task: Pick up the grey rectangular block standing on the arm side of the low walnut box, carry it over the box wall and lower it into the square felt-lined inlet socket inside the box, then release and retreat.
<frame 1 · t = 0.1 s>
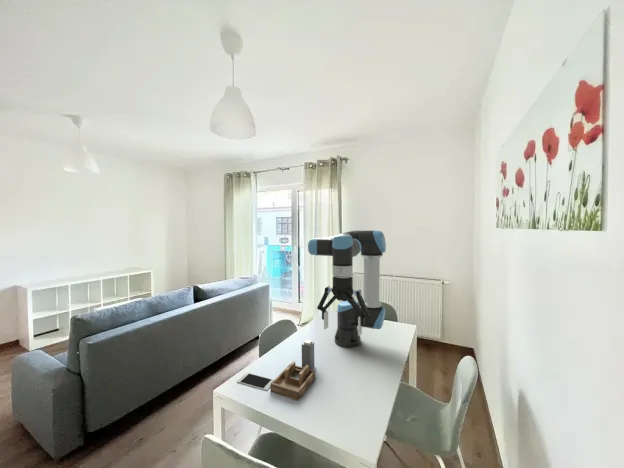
hand: (342, 331, 98), 28 cm above the table, fingers open, 13 cm apart
grey rectangular block: (308, 367, 123), on the table
smartphone: (256, 383, 112), on the table
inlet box: (293, 384, 110), on the table
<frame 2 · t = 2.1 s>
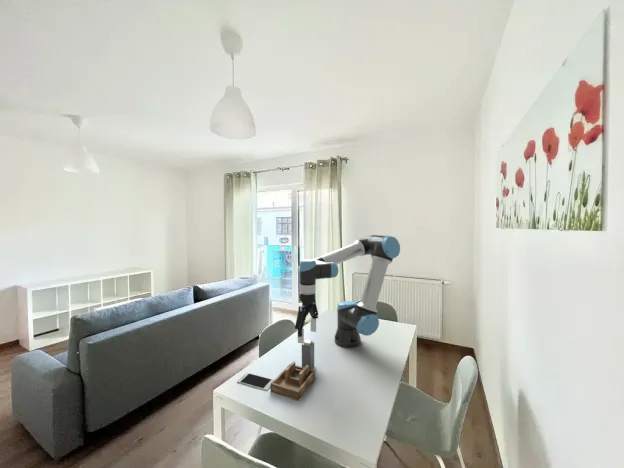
hand: (307, 336, 122), 15 cm above the table, fingers open, 13 cm apart
nothing on the table moved.
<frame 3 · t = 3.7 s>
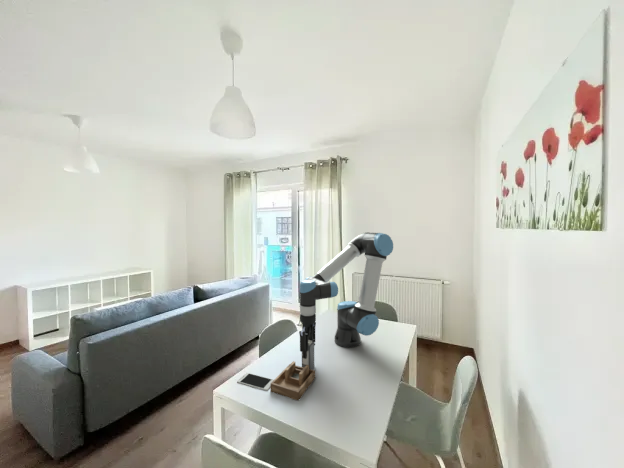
hand: (308, 361, 123), 3 cm above the table, fingers closed on grey rectangular block, 4 cm apart
grey rectangular block: (308, 367, 123), on the table, touching gripper
everything else where it was.
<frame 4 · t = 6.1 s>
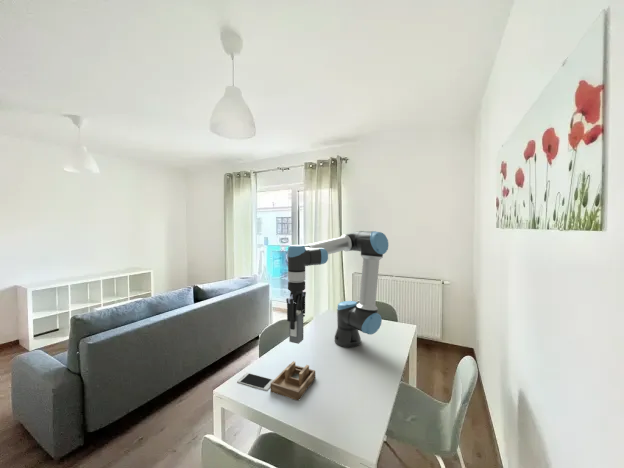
hand: (296, 333, 112), 21 cm above the table, fingers closed on grey rectangular block, 4 cm apart
grey rectangular block: (296, 340, 112), point 18 cm above the table, touching gripper
everything else where it was.
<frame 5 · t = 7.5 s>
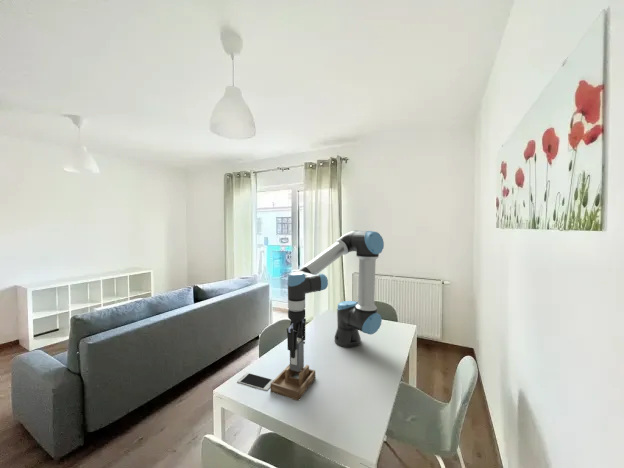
hand: (296, 361, 112), 9 cm above the table, fingers closed on grey rectangular block, 4 cm apart
grey rectangular block: (296, 368, 113), point 6 cm above the table, touching gripper
everything else where it was.
when the fingers open (5 cm above the table, at t = 8.6 s): grey rectangular block stays where it is, resting on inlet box.
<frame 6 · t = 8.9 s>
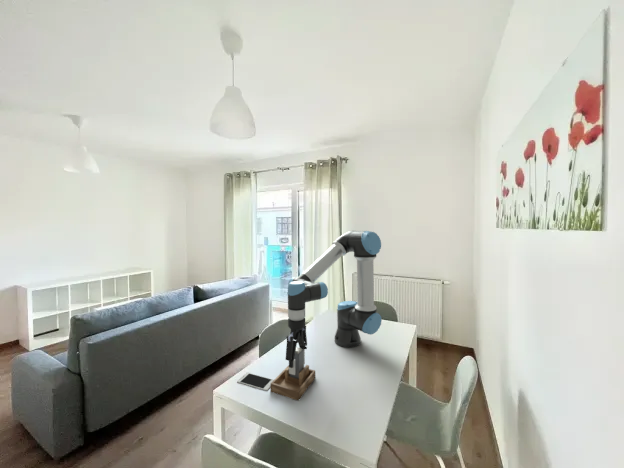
hand: (297, 368, 113), 6 cm above the table, fingers open, 8 cm apart
grey rectangular block: (297, 378, 113), point 1 cm above the table, touching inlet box
everything else where it was.
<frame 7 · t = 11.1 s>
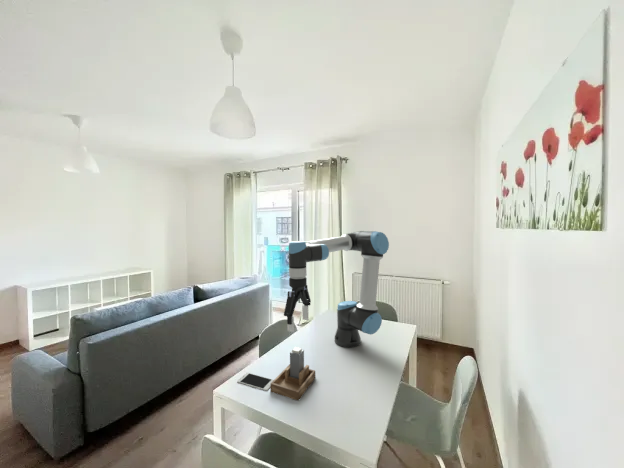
hand: (298, 325, 112), 25 cm above the table, fingers open, 13 cm apart
nothing on the table moved.
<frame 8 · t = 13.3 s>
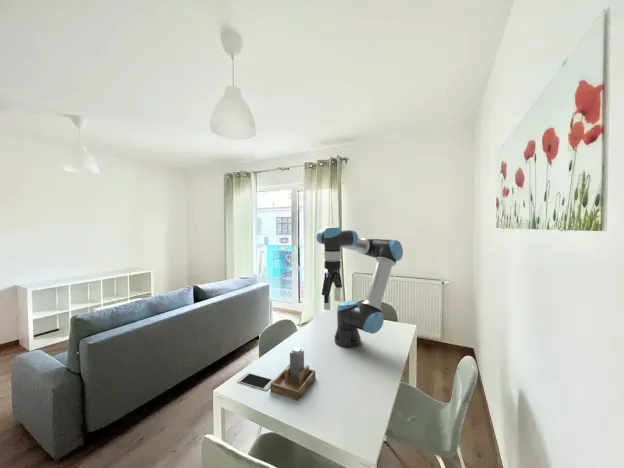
hand: (332, 305, 120), 31 cm above the table, fingers open, 13 cm apart
nothing on the table moved.
at the end: grey rectangular block 0.1 cm from the target spot on the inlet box, point 1.2 cm above the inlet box's base; the gripper is holding nothing; grey rectangular block tilted 0° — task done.
